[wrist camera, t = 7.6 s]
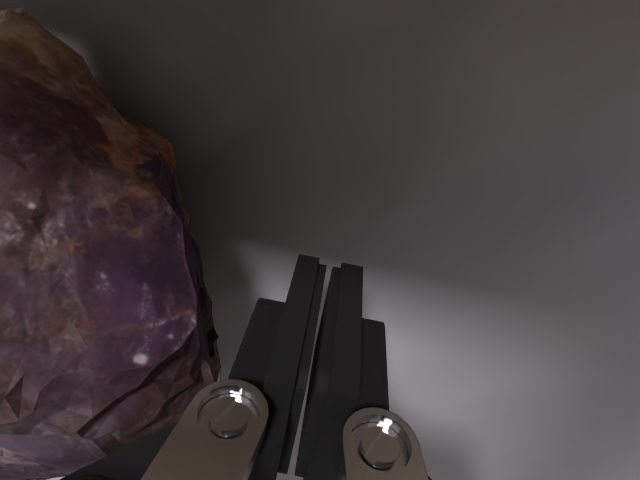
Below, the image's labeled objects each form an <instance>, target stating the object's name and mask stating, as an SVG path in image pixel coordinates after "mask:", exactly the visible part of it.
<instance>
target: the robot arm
mask: <svg viewBox="0 0 640 480" xmlns="http://www.w3.org/2000/svg"><path fill="white" fill-rule="evenodd" d="M319 259H320V258H316V257H311V256H306V255H301V254H299V256H298V260H297V263H296V267H295V271H294V274H293V278H292V281H291V285H290V288H289V292H288V295H287V299H286V302H285V303H284V302H279V301H274V300H269V299H264V298H259V299H258V301H257V304H256V306H255V309H254V312H253V314H252V317H251V319H250V322H249V325H248V327H247V330H246V333H245V335H244V338H243V341H242V343H241V346H240V349H239V351H238V354H237V356H236V359H235V362H234V364H233V367H232V370H231V372H230V375H229V378H228V380H220V381H217V382H214V383H211V384H209V385H208V386H206V387H205V388H203V389H201V390H200V391H199V393H198V394H197V395H196V396H195V397H194V398H193V400H192V401H191V403H190V404H189V406H188V407H187V409H186V410H185V412H184V414H183V415H182V417H181V418H180V420H179V421H177V422H175V423H173V424H171V425H169V426H167V427H165V428H163V429H161V430H159V431H157V432H155V433H153V434H151V435H149V436H147V437H144V438H142V439H140V440H138V441H136V442H134V443H132V444H130V445H128V446H126V447H124V448H122V449H120V450H118V451H116V452H114V453H112V454H110V455H108V456H106V457H104V458H102V459H100V460H98V461H95V462H93V463H91V464H89V465H87V466H85V467H83V468H81V469H79V470H77V471H75V472H73V473H71V474H69V475H67V476H65V477H64V478H62V479H60V480H276V476H277V472H279V473H284V474H287V472H288V468H289V463H290V458H291V454H292V449H293V445H294V440H295V436H296V431H297V427H298V422H299V418H300V413H301V409H302V404H303V400H304V395H305V391H306V386H307V381H308V375H309V370H310V364H311V357H312V351H313V345H314V339H315V333H316V327H317V321H318V315H319V309H320V303H321V297H322V291H323V284H324V278H325V272H326V266H327V265H323V264H319ZM362 286H363V267H361V266H356V265H351V264H346V263H342V264H341V268H338V267H333V268H332V272H331V277H330V282H329V286H328V291H327V295H326V300H325V304H324V309H323V313H322V318H321V322H320V327H319V331H318V336H317V340H316V345H315V350H314V356H313V362H312V369H311V375H310V381H309V387H308V394H307V400H306V406H305V413H304V419H303V425H302V431H301V438H300V444H299V450H298V457H297V463H296V469H295V476H299V477H304V479H303V480H432V479H431V478H430V477H429V476H428V475H427V472H426V468H425V464H424V460H423V457H422V453H421V449H420V445H419V442H418V440H417V438H416V435H415V433H414V431H413V430H412V429H411V428H410V426H409V425H408V424H407V423H406V422H405V421H404V420H403V419H402V418H400V417H399V416H398V415H396V414H394V413H392V412H390V411H389V401H388V381H387V360H386V339H385V325H384V323H383V322H379V321H374V320H369V319H364V318H362ZM34 480H36V479H34Z"/></svg>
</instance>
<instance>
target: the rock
mask: <svg viewBox="0 0 640 480" xmlns="http://www.w3.org/2000/svg"><path fill="white" fill-rule="evenodd" d="M189 219H190V215H189V214H188V212H187V211H186V210H185V209H184V208H183V206H182V197H181V193H180V190H179V186H178V178H177V169H176V162H175V155H174V152H173V148H172V145H171V143H170V142H169V141H167V140H166V139H165V138H164V137H162V136H161V135H160V134H158V133H156V132H155V131H153V130H151V129H149V128H147V127H146V126H144V125H142V124H140V123H138V122H136V121H134V120H133V119H131V118H129V117H127V116H122V115H121V114H120V113H119V112H118V110H117V109H116V108H115V107H114V106H113V104H112V103H111V102H110V101H109V99H108V97H107V96H106V94H105V93H104V91H103V90H102V89H101V87H100V86H99V84H98V83H97V81H96V80H95V78H94V77H93V75H92V74H91V72H90V70H89V68H88V66H87V64H86V63H85V61H84V59H83V57H82V56H80V55H79V54H78V53H77V52H75V51H74V50H73V49H72V48H70V47H69V46H68V45H67V44H65V43H64V42H62V41H61V40H60V39H58V38H57V37H56V36H54V35H53V34H52V33H50V32H49V31H47V30H46V29H45V28H43V27H42V26H41V25H40V24H39V23H38V22H37V21H36V20H35V19H34V18H33V17H32V16H31V15H30V14H28V13H27V12H26V11H25V10H24V9H23V8H7V9H4V10H1V11H0V480H34V479H36V480H46V479H50V478H55V477H63V476H67V475H69V474H71V473H73V472H75V471H77V470H79V469H81V468H83V467H85V466H87V465H89V464H91V463H93V462H95V461H98V460H100V459H102V458H104V457H106V456H108V455H110V454H112V453H114V452H116V451H118V450H120V449H122V448H124V447H126V446H128V445H130V444H132V443H134V442H136V441H138V440H140V439H142V438H144V437H147V436H149V435H151V434H153V433H155V432H157V431H159V430H161V429H163V428H165V427H167V426H169V425H171V424H173V423H175V422H177V421H179V420H180V418H181V417H182V415H183V414H184V412H185V410H186V409H187V407H188V406H189V404H190V403H191V401H192V400H193V398H194V397H195V396H196V395H197V394H198V393H199V391H200V390H201V389H203V388H205V387H206V386H208V385H209V384H211V383H214V382H217V381H218V378H219V372H220V367H221V366H220V359H219V353H218V347H217V338H218V335H217V333H216V331H215V329H214V324H213V317H212V302H211V299H210V297H209V295H208V293H207V290H206V287H205V284H204V282H203V271H202V263H201V256H200V250H199V247H198V246H197V244H196V243H195V241H194V240H193V238H192V237H191V235H190V234H189V232H188V225H189Z"/></svg>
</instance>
